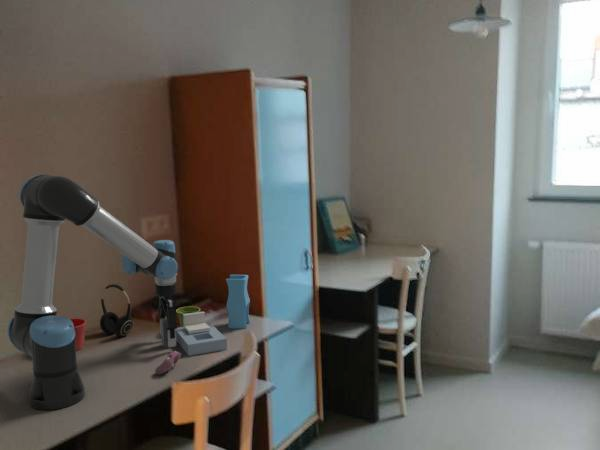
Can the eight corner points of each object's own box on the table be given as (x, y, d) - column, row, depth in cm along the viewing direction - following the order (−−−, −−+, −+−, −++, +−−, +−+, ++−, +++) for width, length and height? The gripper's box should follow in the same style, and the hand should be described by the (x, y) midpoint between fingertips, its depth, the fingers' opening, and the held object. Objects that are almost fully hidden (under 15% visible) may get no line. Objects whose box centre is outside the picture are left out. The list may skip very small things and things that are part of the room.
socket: (188, 355, 202) (188, 344, 201) (174, 338, 219) (174, 328, 219) (226, 349, 208) (226, 338, 207) (210, 332, 225) (210, 323, 225)
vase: (231, 321, 239) (230, 274, 236) (250, 322, 238) (249, 274, 235) (227, 328, 231) (225, 279, 228) (246, 328, 230) (245, 279, 227)
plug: (164, 348, 209) (162, 319, 207) (161, 345, 212) (160, 316, 211) (175, 346, 211) (174, 317, 209) (172, 343, 214) (171, 314, 213)
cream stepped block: (188, 334, 211) (188, 320, 211) (183, 327, 218) (182, 314, 218) (210, 330, 215) (209, 317, 214) (204, 324, 222) (203, 311, 221)
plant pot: (206, 329, 229) (205, 308, 228) (189, 336, 221) (188, 314, 220) (188, 325, 234) (187, 305, 233) (171, 332, 226) (170, 310, 225)
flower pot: (62, 356, 202) (60, 329, 201) (51, 348, 210) (49, 322, 209) (92, 349, 209) (90, 323, 207) (80, 341, 217) (79, 316, 216)
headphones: (111, 328, 231) (108, 280, 228) (139, 334, 224) (137, 284, 221) (94, 335, 224) (91, 284, 221) (123, 341, 217) (120, 289, 214)
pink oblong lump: (165, 380, 185) (174, 362, 184) (153, 373, 186) (161, 355, 184) (177, 368, 195) (185, 351, 193) (165, 361, 195) (173, 344, 194)
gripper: (184, 289, 199) (186, 349, 202) (168, 275, 220) (170, 329, 224) (162, 292, 196) (165, 353, 199) (148, 277, 217) (151, 332, 220)
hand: (168, 341), depth 211 cm, fingers open, 12 cm apart
